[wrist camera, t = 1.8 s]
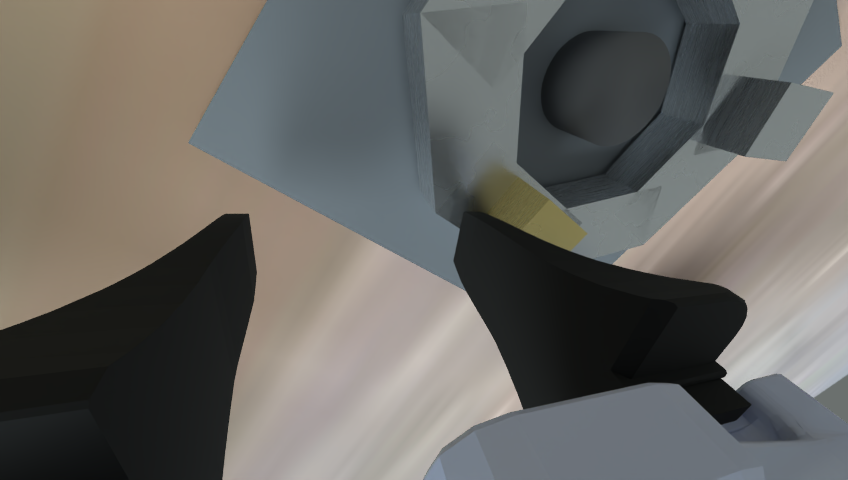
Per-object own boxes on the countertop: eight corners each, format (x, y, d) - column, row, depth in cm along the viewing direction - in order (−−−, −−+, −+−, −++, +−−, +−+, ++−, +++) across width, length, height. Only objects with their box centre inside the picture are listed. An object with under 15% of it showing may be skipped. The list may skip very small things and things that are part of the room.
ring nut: (782, 53, 15) (908, 62, 12) (554, 281, 19) (606, 334, 16) (665, -388, 8) (913, -670, 5) (327, 127, 11) (336, 169, 8)
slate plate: (821, 44, 17) (907, 48, 14) (534, 322, 22) (563, 359, 20) (690, -755, 6) (932, -1237, 4) (194, 135, 11) (165, 167, 9)
